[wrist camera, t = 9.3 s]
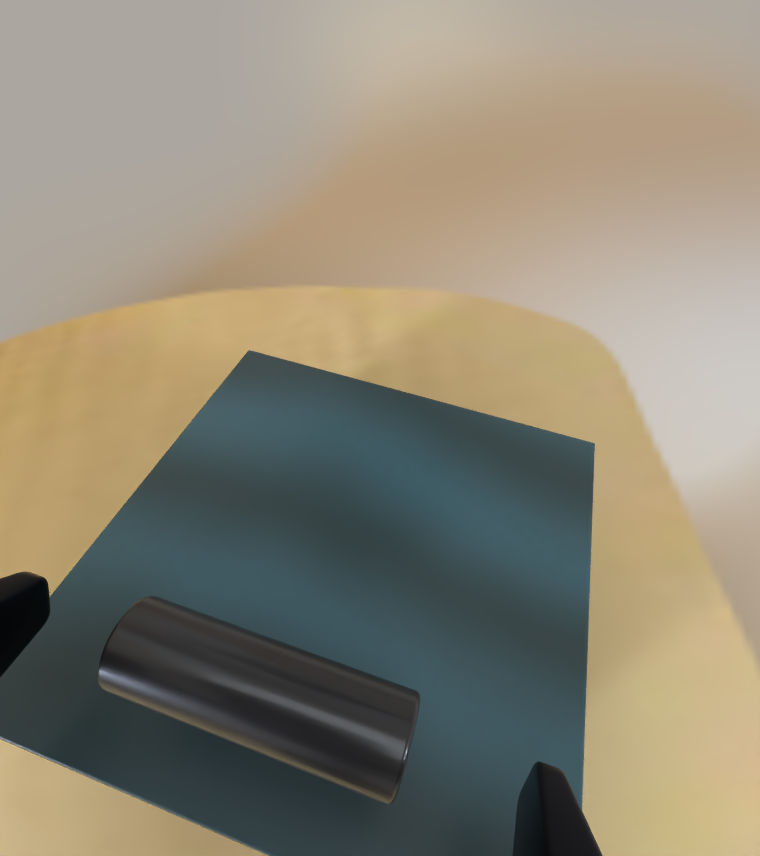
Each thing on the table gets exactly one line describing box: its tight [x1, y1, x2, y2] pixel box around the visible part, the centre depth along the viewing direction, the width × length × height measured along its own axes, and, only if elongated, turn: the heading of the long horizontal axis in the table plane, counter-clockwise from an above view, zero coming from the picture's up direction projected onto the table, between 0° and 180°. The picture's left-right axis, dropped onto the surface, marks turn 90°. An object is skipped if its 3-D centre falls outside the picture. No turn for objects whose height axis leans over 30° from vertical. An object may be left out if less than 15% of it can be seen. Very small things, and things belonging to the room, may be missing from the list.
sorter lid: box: [0, 350, 595, 856], centre depth 12 cm, size 13×12×4 cm
